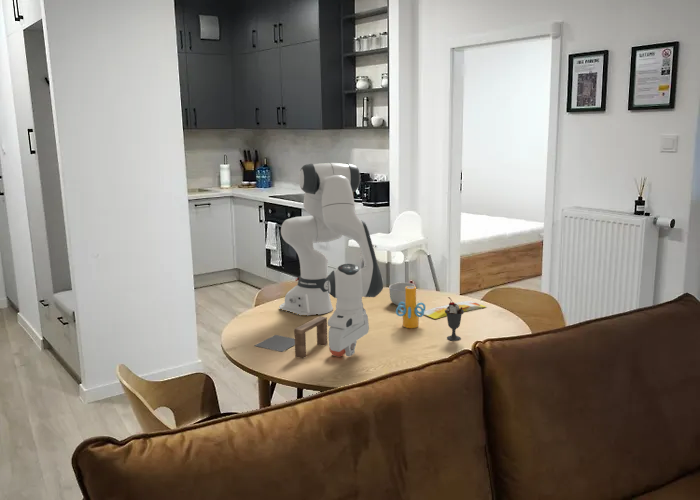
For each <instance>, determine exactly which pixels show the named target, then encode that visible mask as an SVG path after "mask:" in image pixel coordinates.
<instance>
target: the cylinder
mask: <svg viewBox="0 0 700 500" xmlns="http://www.w3.org/2000/svg"><path fill="white" fill-rule="evenodd" d="M401 304H404V306H403V305H401ZM421 305H422V306H421ZM402 308H403V309H402ZM418 309H420V311H419V310H418ZM425 310H426V304H425V303H424V302H418V303H417V287H416V285H415V286H407V287H405V303H404V302H400V303H399V304H398V305H397V307H396V309H395V314H396V315H397V316H398V317H402V326H403V327H404V328H406V329H415V328H418V327H419V326H420V325H419V324H420V323H419V321H420V320H419V318H422V317H423V316H425V315H424V311H425ZM399 311H400V312H401V314H400V313H399ZM421 313H422V314H421Z"/></svg>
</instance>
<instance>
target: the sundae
mask: <svg viewBox="0 0 700 500" xmlns="http://www.w3.org/2000/svg"><path fill="white" fill-rule="evenodd" d="M447 298H448V299H449V300H450V302H449V303H448V305H449V306H448V307H447V309H446V310H445V313H446V314H447V316H446V319H447V324H448V327H449V328H450V329H451V330H452V331H451V335H448V336H447V337H446V339H447V340H448V341H453V342H455V341H456V342H458V341H461V339H462V338H461V337H460V336H458V335H457V334H456V330H457V329H458V328H459V327H460V325H461V320H462V315H463V314H464V313H465V312H464V311H463V310H462V307H461V308H459V306H458V305H457V304H455V303H456V302H453V301H452V298H451V297H447Z"/></svg>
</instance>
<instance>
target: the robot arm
mask: <svg viewBox="0 0 700 500" xmlns="http://www.w3.org/2000/svg"><path fill="white" fill-rule="evenodd" d="M298 184H299V186H300V189H301V190H302V191H303V192H304V197H303V208H304V210H305V211H306V212H307V213H308V214H309V215H303V216H295V217H294V216H293V217H291V218H287V219H285V220H284V221H283V222H282V224H281V227H280V234H281V237H282V239H283V241H284V242H285V243H286V244H288V245H289V246H290V247H292V249H294V251H295V252H296V254H297V256H298V260H299V261H298V262H299V267H300V268H299V270H300V275H299V276H298V277H297V278H296V277H295V282H297V284H296V285H295V286H294V287H293V288H291V289H290V290H289V291H288V292H286V294H285V296H284V302H283V303H281V304H280V305H279V307H278V309H279V308H280V309H283V310H287V311H290V312H294V313H297V314H296V315H298V314H300V315H299V316H301V315H307V316H313V315H316V314H318V315H323V314H324V315H325V314H327V313H330V312H332V311H333V310H334V308H333V305H332V301H331V297H333V298H334V299H336V302H335V303H336V304H335V310H334V312H333V313H332V314H331V316H330V317H329V319H327V327H329V329H328V349H329V348H330V349H331V350H332V351H337V352H340V351H341V350H343V349H345V351H346V353H345V357H351V356H352V355H354V354H355V353H356V351H355V350H356V346H357V343H358V342H357V341H359V339H362V338H363V337H364V336H365V335H367V334H368V333H369V330H370V327H369V326H370V325H369V316H368V314H367V311H366V309H365V308H364V304H363V297H364V298H376V297H377V296H378V295H379V294H380V293H381V292H382V291H383V288H384V278H383V276H382V273H381V270H380V267H379V265H378V260H377V257H376V253H375V250H374V245H373V242H372V238H371V235H370V231H369V228H368V226H367V224H366V222H365V221H364V220H362V219H360V217H359V216H358V214H357V212H356V206H355V198H354V192H356V191H357V190H358V189H359V187H360V184H361V173H360V170H359V168H358V167H357V165H355V164H352V163H341V162H340V163H339V162H327V163H325V162H322V163H307V164H305V165H302V166H301V168H300V170H299V174H298ZM343 236H344V237H347V238H349V239H352V240H353V241H355V242H356V243H357V244H358V246H359V249H360V253H361V257H362V261H363V264H364V267H359V266H358V265H357V264H353V263H344V264H340V265H339V266H338V267H337V268H336V269H335V270H334V269H333V270H332V271H331V272H330V273H329V266H328V265H329V264H328V263H329V262H328V258H327V255H326V254H325V253H323V252H322V251H320V250H317V249H315V248H314V244H319V243H327V242H332V241H335V240H339V239H341V238H342V237H343ZM280 309H279V310H280ZM283 310H282V311H283ZM287 311H286V312H287ZM290 312H289V313H290ZM294 313H293V314H294Z"/></svg>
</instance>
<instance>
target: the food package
mask: <svg viewBox="0 0 700 500" xmlns="http://www.w3.org/2000/svg"><path fill="white" fill-rule="evenodd" d="M454 303H455V304H457V305H458V306H459V308H461V307H462V310H463V311H464V313H465V312H469V311H474V310H480V309H484V308H487V305H483V304H481V303H477V302H475V301H472V300H467V301H466V300H465V301H458V302H454ZM448 306H449V304H446V305H445V304H444V305H442V306H437V307H433V308H429V309H425V311H424V315H423V316H426V317H429V318H431V319H432V320H435V319H441V318H442V319H443V318H444V317H447V314H446V313H445V310H446V309H447V307H448ZM421 314H422V313H420V315H421Z"/></svg>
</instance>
